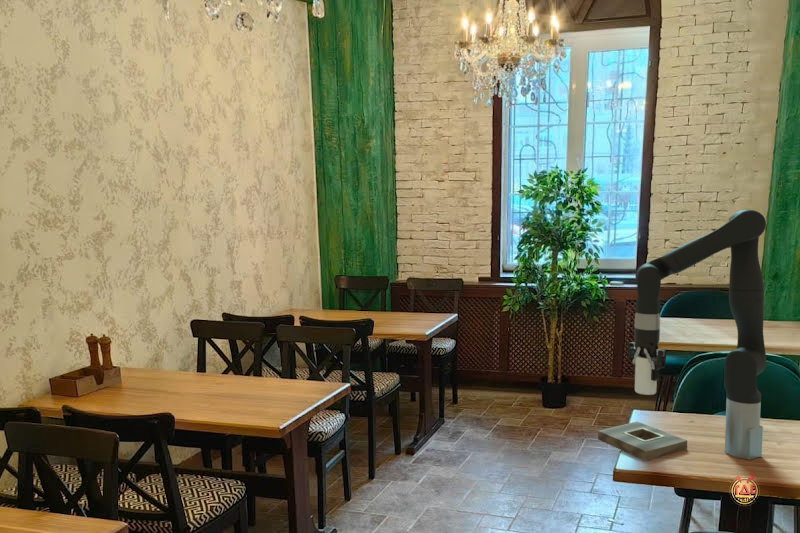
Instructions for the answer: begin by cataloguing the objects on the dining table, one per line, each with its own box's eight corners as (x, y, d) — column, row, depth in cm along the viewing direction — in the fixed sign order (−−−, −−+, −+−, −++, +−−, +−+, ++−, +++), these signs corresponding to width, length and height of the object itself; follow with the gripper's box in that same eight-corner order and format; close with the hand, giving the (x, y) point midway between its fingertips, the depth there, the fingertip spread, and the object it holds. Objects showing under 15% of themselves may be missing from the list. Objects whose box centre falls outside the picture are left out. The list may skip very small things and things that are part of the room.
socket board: (687, 449, 196) (687, 439, 196) (646, 461, 188) (646, 450, 188) (636, 429, 214) (637, 420, 214) (597, 439, 206) (597, 430, 206)
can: (657, 395, 197) (658, 358, 196) (636, 394, 199) (637, 358, 197) (654, 390, 204) (655, 354, 202) (633, 388, 205) (634, 353, 204)
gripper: (674, 329, 194) (672, 381, 196) (638, 321, 207) (636, 371, 209) (656, 331, 191) (655, 385, 193) (621, 324, 204) (620, 373, 205)
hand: (645, 377), depth 201 cm, fingers closed on can, 6 cm apart
